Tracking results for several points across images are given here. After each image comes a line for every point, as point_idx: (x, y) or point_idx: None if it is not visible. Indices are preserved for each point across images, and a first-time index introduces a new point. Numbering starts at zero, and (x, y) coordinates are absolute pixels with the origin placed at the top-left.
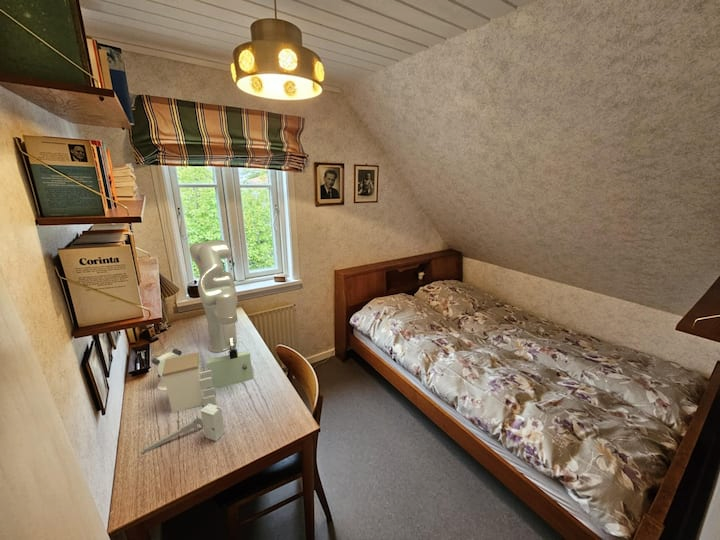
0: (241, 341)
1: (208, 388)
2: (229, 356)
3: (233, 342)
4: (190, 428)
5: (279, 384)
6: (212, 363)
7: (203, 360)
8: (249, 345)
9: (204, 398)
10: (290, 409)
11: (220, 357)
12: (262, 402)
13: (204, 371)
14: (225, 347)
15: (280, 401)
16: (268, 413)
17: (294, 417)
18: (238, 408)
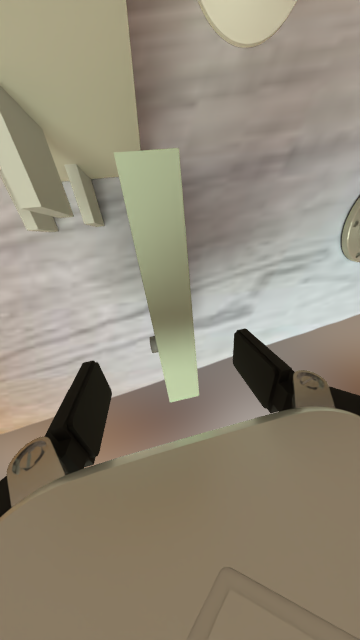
0: (353, 285)
1: (84, 194)
2: (174, 323)
3: (255, 385)
4: None
5: (124, 383)
6: (126, 209)
7: (338, 148)
8: (318, 308)
9: (4, 179)
10: (32, 407)
11: (179, 269)
12: (57, 359)
13: (5, 132)
14: (356, 239)
15: (60, 390)
16: (13, 374)
17: (5, 415)
18: (28, 307)
